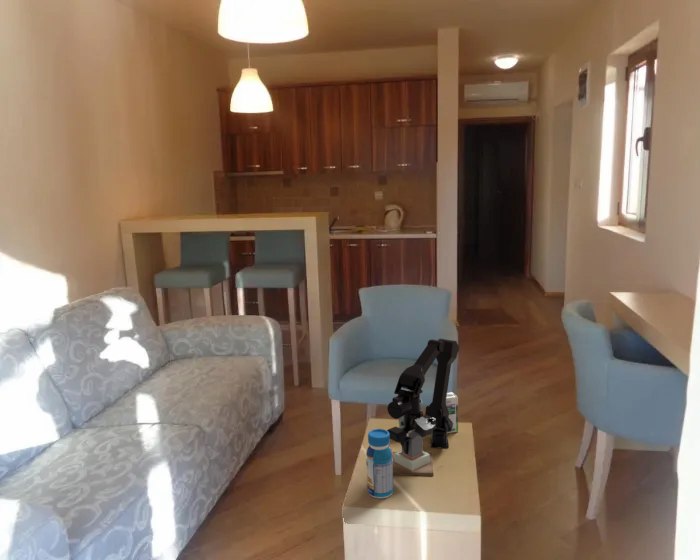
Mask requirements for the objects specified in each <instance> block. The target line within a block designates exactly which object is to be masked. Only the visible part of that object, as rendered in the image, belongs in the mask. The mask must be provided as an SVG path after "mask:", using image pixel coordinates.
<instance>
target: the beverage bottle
mask: <svg viewBox="0 0 700 560" xmlns="http://www.w3.org/2000/svg"><path fill="white" fill-rule="evenodd" d="M387 430H388V429H383V428H375V429H372V430H369V431H368V434H367V439H368V441H367V442H368V447H367V449H366V453H365V454H366V459H365V464H366V465H365V466H366V478H367V479H366V480H367V481H366V482H367V483H366V484H367V485H366V486H367V487H366V489H367V490H366V491H367V493H368V495H369V496H371V497H372V498H374V499H387V498H389V497H390V496H392V495H393V492H394V475H393V459H392V454H393V450H392V448H391V446H390V442H391V439H390V434H389V432H388V431H387Z"/></svg>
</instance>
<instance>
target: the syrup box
mask: <svg viewBox="0 0 700 560" xmlns="http://www.w3.org/2000/svg"><path fill="white" fill-rule="evenodd" d="M446 406H447V408H448V411H449V419H450V420H451V421H452V422H453V428H452V429H451V432H447V434H452V433H458V432H459V397H458V396H457V394H455V393H454V392H452V391H450V392H447V397H446Z"/></svg>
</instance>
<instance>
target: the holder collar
mask: <svg viewBox="0 0 700 560" xmlns="http://www.w3.org/2000/svg"><path fill="white" fill-rule="evenodd" d="M396 452H397V453H394V457H395V462H396V463H398V464H400V465H402V466H404V467H406V468H408V469H409V470H411V471H413V470H415V469H417V468H419V467H421V466H424V465H426V464H428V463H430V454H428V453H429V452H427V451H424V450H423V456H421V457H419V458H417V459H414V460H410V459H408V458H406V457H404V456H402V449H401V450H399V451H396Z"/></svg>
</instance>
